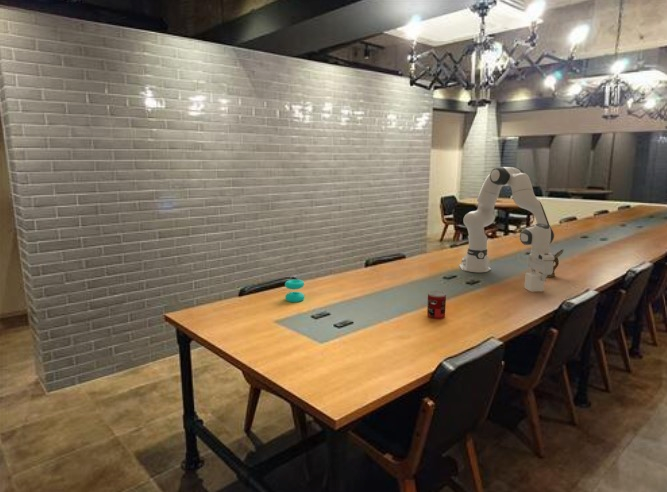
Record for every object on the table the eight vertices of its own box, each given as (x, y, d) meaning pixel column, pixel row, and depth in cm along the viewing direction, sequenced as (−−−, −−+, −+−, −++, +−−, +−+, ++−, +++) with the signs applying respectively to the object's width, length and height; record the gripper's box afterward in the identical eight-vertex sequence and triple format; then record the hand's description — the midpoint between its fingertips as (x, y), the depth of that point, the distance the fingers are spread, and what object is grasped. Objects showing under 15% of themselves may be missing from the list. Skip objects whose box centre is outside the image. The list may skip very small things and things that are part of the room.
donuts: (292, 277, 234) (307, 280, 228) (293, 295, 236) (308, 298, 230) (280, 282, 225) (296, 284, 220) (281, 300, 227) (296, 304, 222)
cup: (524, 288, 245) (525, 272, 243) (536, 287, 245) (537, 272, 244) (530, 291, 238) (532, 275, 236) (543, 291, 239) (544, 275, 237)
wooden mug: (556, 279, 261) (559, 250, 258) (535, 275, 272) (537, 246, 269) (564, 277, 266) (567, 248, 263) (543, 273, 277) (545, 245, 274)
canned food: (425, 313, 205) (425, 291, 203) (441, 313, 206) (442, 290, 204) (430, 319, 198) (430, 296, 196) (447, 318, 199) (448, 295, 196)
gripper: (525, 250, 248) (523, 274, 251) (544, 258, 228) (542, 283, 231) (535, 250, 249) (534, 273, 251) (556, 257, 229) (554, 283, 231)
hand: (538, 278), depth 241 cm, fingers open, 8 cm apart
